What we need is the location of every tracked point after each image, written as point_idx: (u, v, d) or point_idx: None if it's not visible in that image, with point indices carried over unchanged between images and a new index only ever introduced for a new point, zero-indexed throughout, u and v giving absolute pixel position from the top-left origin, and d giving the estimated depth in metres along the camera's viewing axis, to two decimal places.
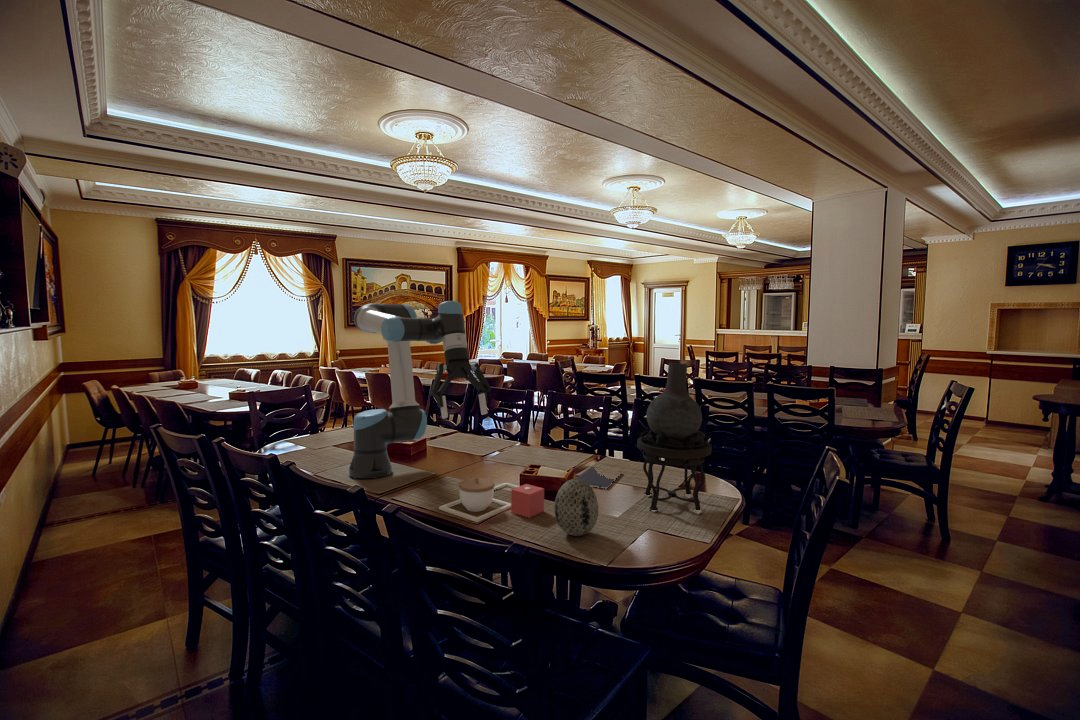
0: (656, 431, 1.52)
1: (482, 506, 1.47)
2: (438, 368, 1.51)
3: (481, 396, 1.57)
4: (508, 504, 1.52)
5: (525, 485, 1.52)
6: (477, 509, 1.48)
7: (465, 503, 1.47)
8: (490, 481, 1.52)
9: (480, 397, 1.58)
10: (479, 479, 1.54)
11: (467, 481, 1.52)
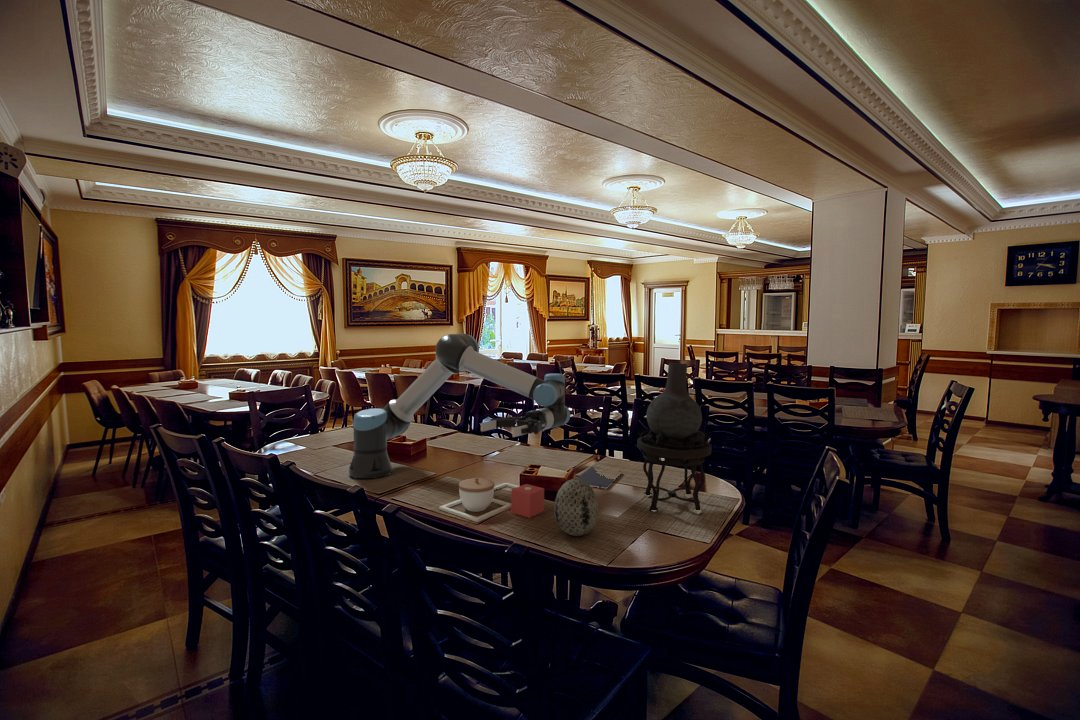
0: (656, 431, 1.52)
1: (482, 506, 1.47)
2: (543, 425, 1.65)
3: (494, 425, 1.66)
4: (508, 504, 1.52)
5: (525, 485, 1.52)
6: (477, 509, 1.48)
7: (465, 503, 1.47)
8: (490, 481, 1.52)
9: (493, 423, 1.65)
10: (479, 479, 1.54)
11: (467, 481, 1.52)
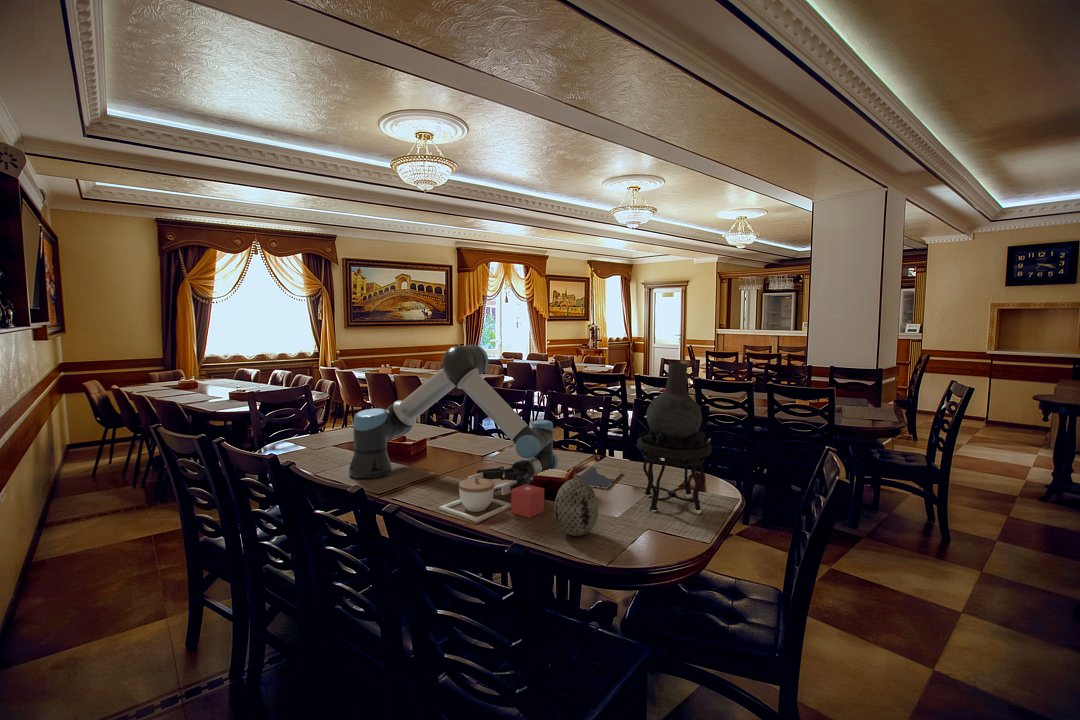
0: (656, 431, 1.52)
1: (482, 506, 1.47)
2: (532, 478, 1.61)
3: None
4: (508, 504, 1.52)
5: (525, 485, 1.52)
6: (477, 509, 1.48)
7: (465, 503, 1.47)
8: (490, 481, 1.52)
9: (480, 475, 1.61)
10: (479, 479, 1.54)
11: (467, 481, 1.52)
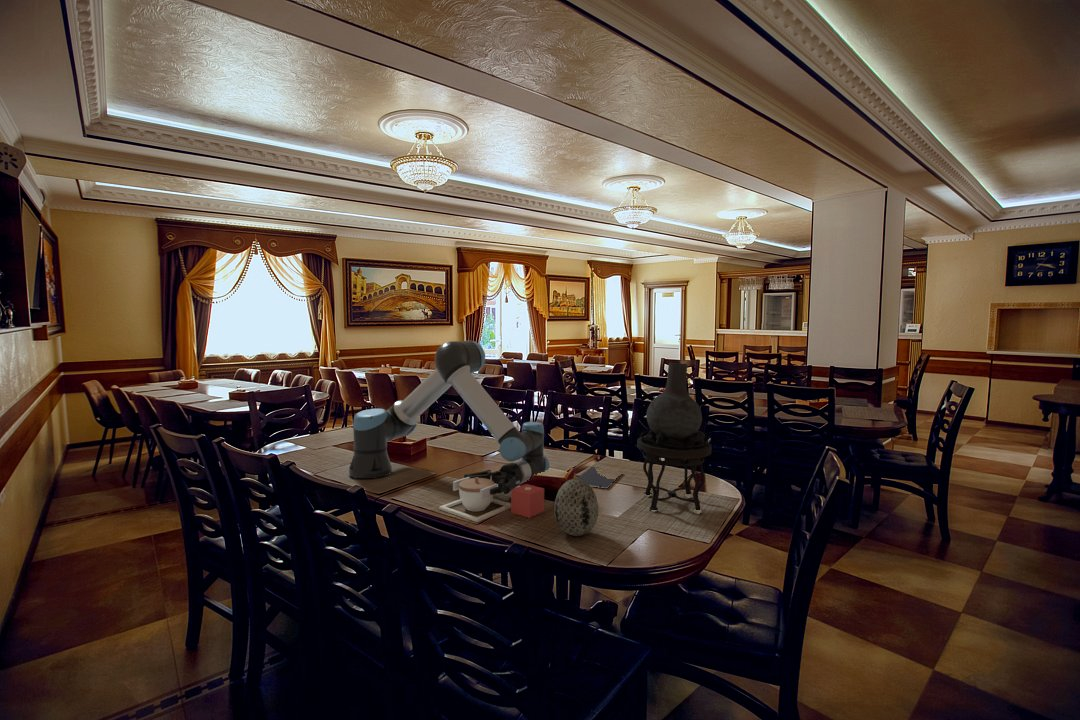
0: (656, 431, 1.52)
1: (482, 506, 1.47)
2: (517, 483, 1.56)
3: None
4: (508, 504, 1.52)
5: (525, 485, 1.52)
6: (477, 509, 1.48)
7: (465, 503, 1.47)
8: (490, 481, 1.52)
9: None
10: (479, 479, 1.54)
11: (467, 481, 1.52)
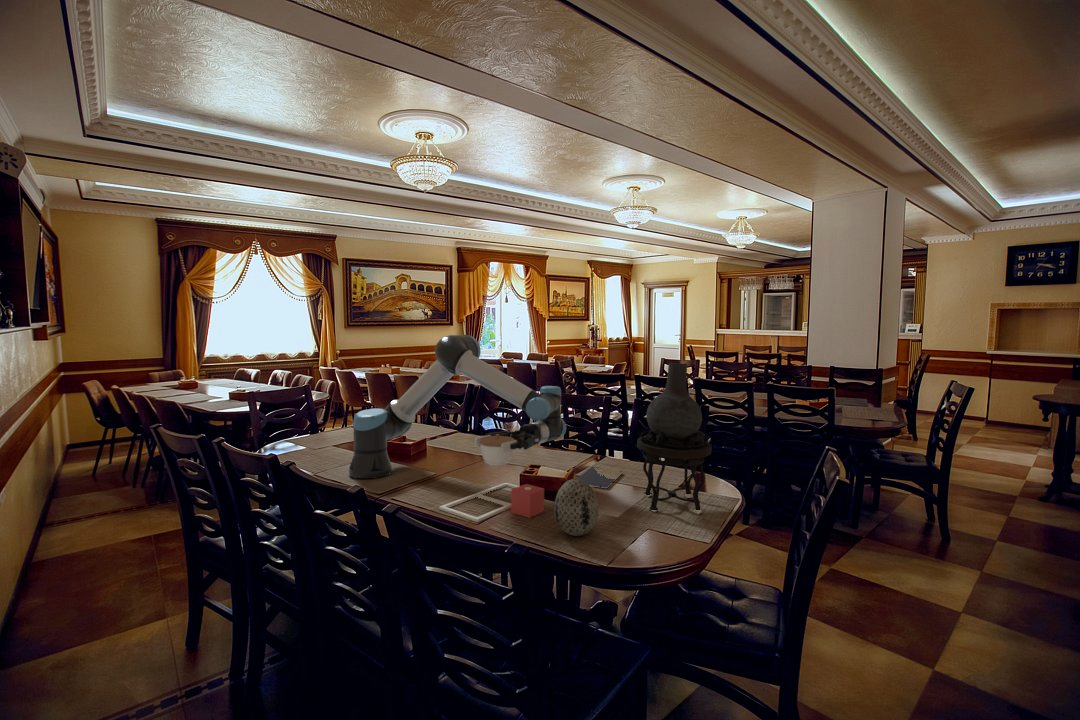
0: (656, 431, 1.52)
1: (503, 460, 1.53)
2: (536, 440, 1.62)
3: None
4: (508, 504, 1.52)
5: (525, 485, 1.52)
6: (498, 463, 1.54)
7: (486, 457, 1.53)
8: (510, 438, 1.58)
9: None
10: (499, 436, 1.60)
11: (488, 438, 1.58)
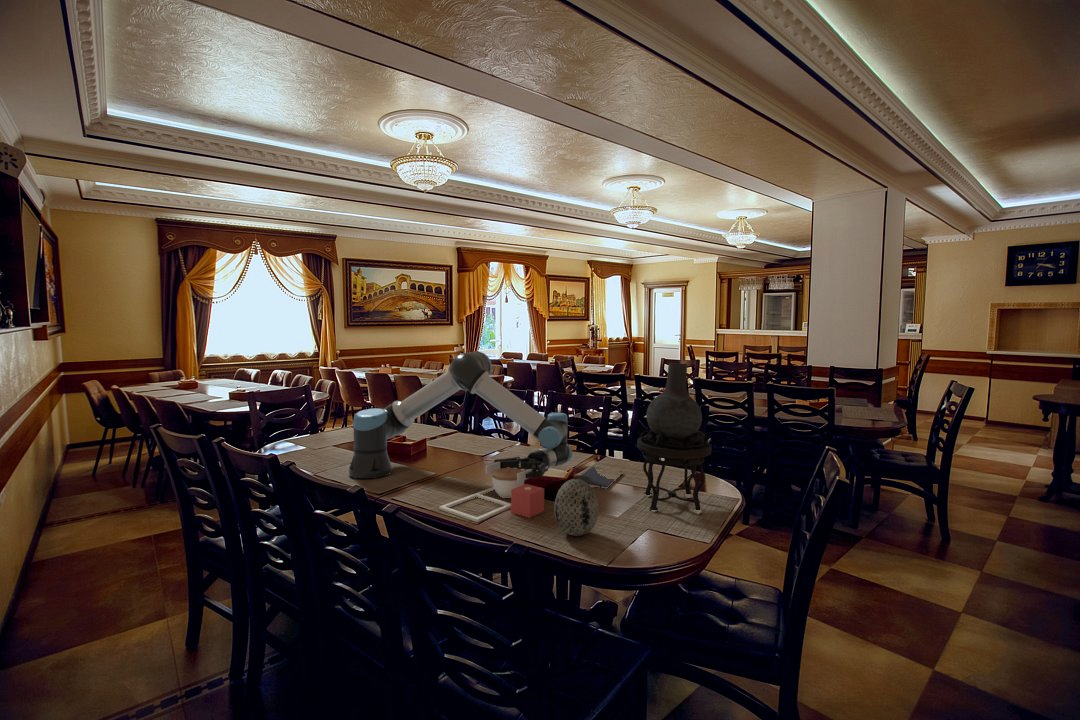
0: (656, 431, 1.52)
1: None
2: (546, 468, 1.68)
3: (498, 467, 1.68)
4: (508, 504, 1.52)
5: (525, 485, 1.52)
6: (509, 496, 1.59)
7: (498, 490, 1.59)
8: (520, 470, 1.64)
9: (498, 464, 1.68)
10: (510, 469, 1.65)
11: (499, 470, 1.64)
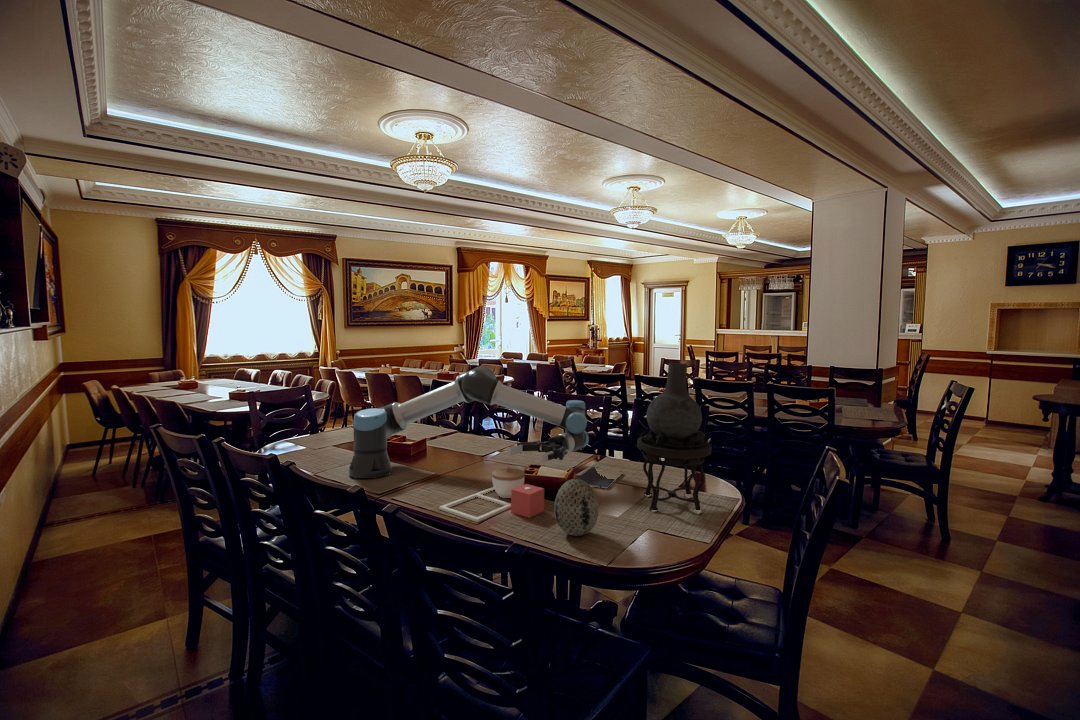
0: (656, 431, 1.52)
1: None
2: (566, 451, 1.78)
3: (520, 450, 1.78)
4: (508, 504, 1.52)
5: (525, 485, 1.52)
6: (509, 496, 1.59)
7: (498, 490, 1.59)
8: (520, 470, 1.64)
9: (520, 447, 1.78)
10: (510, 469, 1.65)
11: (499, 470, 1.64)
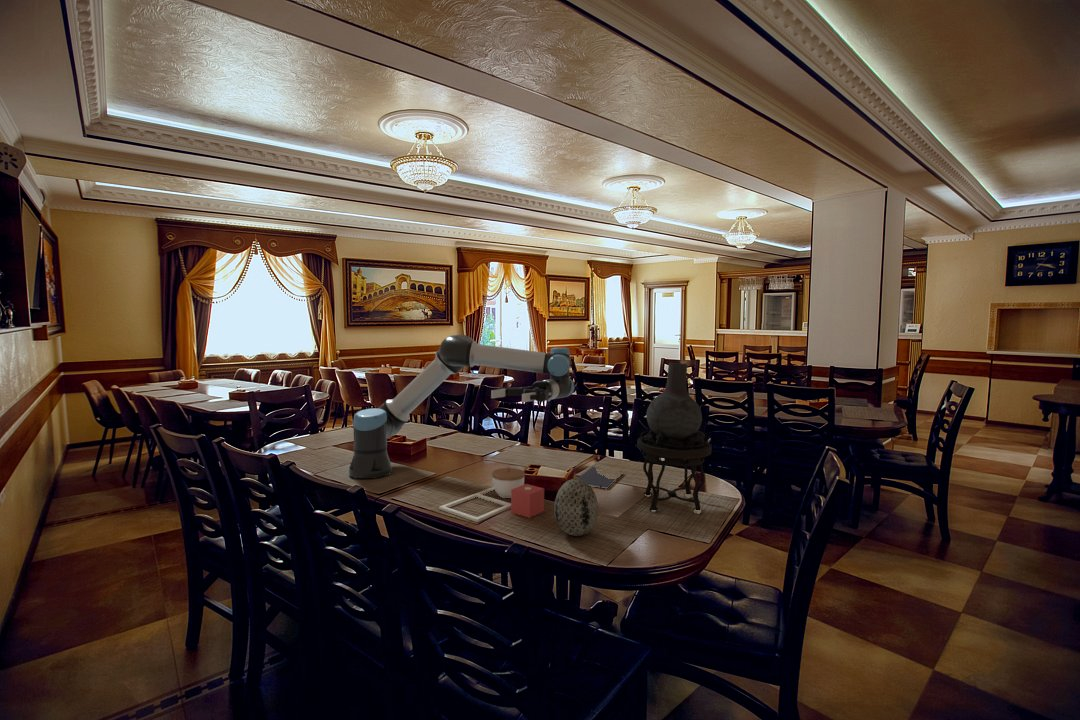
0: (656, 431, 1.52)
1: None
2: (550, 394, 1.75)
3: (503, 394, 1.75)
4: (508, 504, 1.52)
5: (525, 485, 1.52)
6: (509, 496, 1.59)
7: (498, 490, 1.59)
8: (520, 470, 1.64)
9: (503, 391, 1.75)
10: (510, 469, 1.65)
11: (499, 470, 1.64)
